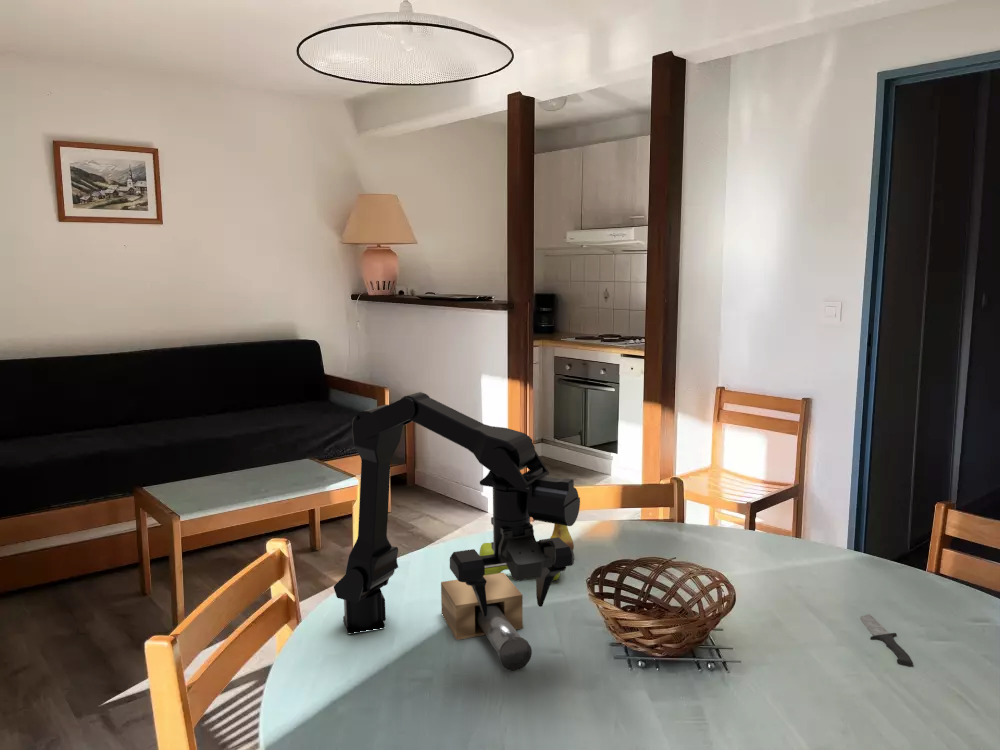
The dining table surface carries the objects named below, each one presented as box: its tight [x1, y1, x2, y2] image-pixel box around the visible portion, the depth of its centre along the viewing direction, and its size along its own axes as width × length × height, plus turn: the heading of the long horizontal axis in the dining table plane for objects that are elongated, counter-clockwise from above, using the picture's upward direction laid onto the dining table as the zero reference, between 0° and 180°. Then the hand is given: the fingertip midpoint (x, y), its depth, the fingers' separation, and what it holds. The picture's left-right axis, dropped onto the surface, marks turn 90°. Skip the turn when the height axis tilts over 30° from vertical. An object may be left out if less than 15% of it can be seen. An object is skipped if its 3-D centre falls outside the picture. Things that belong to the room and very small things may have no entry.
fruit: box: [549, 523, 575, 551], centre depth 164 cm, size 6×6×12 cm
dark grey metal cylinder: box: [475, 603, 533, 672], centre depth 126 cm, size 5×15×5 cm, turn 19°
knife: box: [859, 613, 914, 667], centre depth 131 cm, size 22×1×5 cm
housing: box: [440, 572, 524, 641], centre depth 136 cm, size 12×10×6 cm
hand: (512, 610), depth 120 cm, fingers open, 9 cm apart
